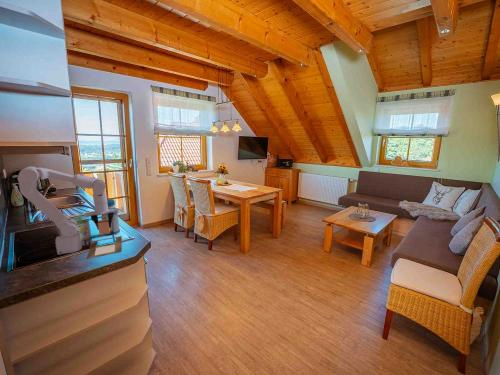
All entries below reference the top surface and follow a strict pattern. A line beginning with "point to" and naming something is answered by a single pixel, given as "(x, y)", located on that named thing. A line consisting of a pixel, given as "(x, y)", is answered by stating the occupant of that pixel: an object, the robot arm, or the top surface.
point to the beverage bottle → (114, 223)
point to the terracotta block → (103, 226)
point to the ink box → (82, 228)
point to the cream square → (104, 250)
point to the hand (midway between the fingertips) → (104, 228)
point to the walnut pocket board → (94, 245)
